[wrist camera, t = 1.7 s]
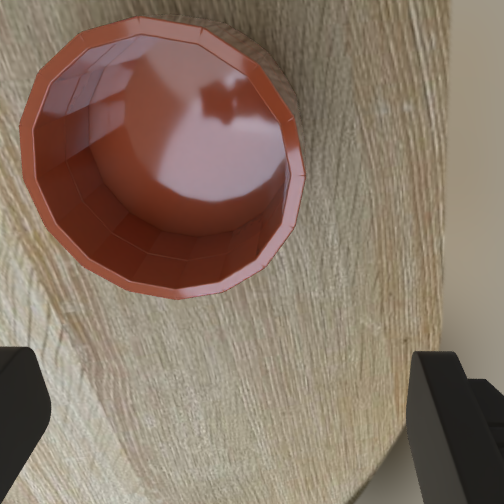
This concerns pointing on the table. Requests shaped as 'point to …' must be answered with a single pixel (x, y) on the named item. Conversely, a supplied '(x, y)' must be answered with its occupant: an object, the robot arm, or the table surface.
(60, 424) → the table surface
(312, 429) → the table surface
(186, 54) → the bowl
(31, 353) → the robot arm
